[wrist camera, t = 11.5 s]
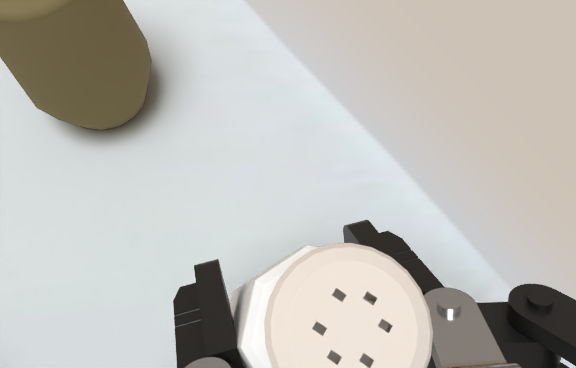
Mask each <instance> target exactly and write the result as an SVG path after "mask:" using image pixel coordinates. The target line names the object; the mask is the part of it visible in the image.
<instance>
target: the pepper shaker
mask: <svg viewBox="0 0 576 368" xmlns="http://www.w3.org/2000/svg"><path fill="white" fill-rule="evenodd" d="M230 308H231V312H232V316H233V322H234V329H235V337H236V345H237V350H238V353H239V356H240V359H241V362H242V365H243V368H427V366H428V363H429V360H430V357H431V350H432V339H433V330H432V324H431V317H430V311H429V308H428V306H427V303H426V301H425V298H424V296H423V294H422V291H421V289H420V287H419V286H418V285H417V283H416V282H415V281H414V279H413V278H412V276H411V275H410V274H409V272H408V271H407V270H406V269H405V268H403V267H402V266H401V265H400V264H399V263H398V262H396V261H395V260H394V259H393V258H392V257H390V256H388V255H386V254H384V253H382V252H380V251H378V250H376V249H374V248H372V247H368V246H363V245H359V244H354V243H340V244H329V245H326V246H323V247H315V246H309V245H308V246H303V247H302V248H300V249H298V250H297V251H295V252H293V253H292V254H290V255H289V256H287V257H285V258H284V259H282V260H281V261H279V262H277V263H276V264H274V265H273V266H271V267H270V268H268V269H267V270H265V271H264V272H262V273H261V274H259V275H258V276H256V277H255V278H253V279H252V280H250V281H249V282H247V283H246V284H244V285H243V286H241V287H240V288H238V289H237V290H235V291H234V292H233V295H232V300H231V304H230Z"/></svg>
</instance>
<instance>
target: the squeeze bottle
mask: <svg viewBox="0 0 576 368" xmlns="http://www.w3.org/2000/svg"><path fill="white" fill-rule="evenodd" d="M0 57H1V59H2V60H3V61H4V63H5V64H6V66H7V67H8V68H9V70H10V71H11V73H12V74H13V75H14V77H15V78H16V80H17V81H18V82H19V84H20V85H21V87H22V88H23V89H24V91H25V92H26V94H27V95H28V96H29V98H30V99H31V100H32V102H33V103H34V104H35V106H36V107H37V108H38V109H40V110H42V111H44V112H46V113H48V114H49V115H51V116H53V117H55V118H57V119H59V120H62V121H65V122H69V123H72V124H75V125H78V126H81V127H84V128H89V129H98V130H106V129H110V128H114V127H118V126H121V125H123V124H124V123H126V122H127V121H129V120H130V119H132V118H133V117H135V115H136V114H137V113H138V111H139V110H140V109H141V107H142V106H143V104H144V101H145V97H146V92H147V87H148V80H149V74H150V68H151V57H150V53H149V49H148V45H147V41H146V39H145V37H144V36H143V34H142V32H141V30H140V29H139V27H138V25H137V23H136V22H135V20H134V18H133V17H132V15H131V13H130V11H129V10H128V8H127V6H126V5H125V3H124V1H123V0H0Z"/></svg>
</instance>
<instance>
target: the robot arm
mask: <svg viewBox="0 0 576 368" xmlns="http://www.w3.org/2000/svg"><path fill="white" fill-rule="evenodd" d="M343 233H344V243H354V244H359V245H363V246H368V247H372V248H374V249H376V250H378V251H380V252H382V253H384V254H386V255H388V256H390V257H392V258H393V259H394V260H395V261H396V262H398V263H399V264H400V265H401V266H402V267H403V268H405V269H406V270H407V271H408V272H409V274H410V275H411V276H412V278H413V279H414V281H415V282H416V283H417V285H418V286H419V287H420V289H421V291H422V294H423V296H424V298H425V301H426V303H427V306H428V308H429V311H430V317H431V324H432V330H433V339H432V350H431V357H430V360H429V363H428V366H427V368H569V367H567V366H566V365H564V364H563V363H561V362H560V360H561V357H562V358H564V359H565V360H567V361H569V362H570V363H572V364H573V365H575V366H576V300H575V299H573V298H571V297H569V296H567V295H565V294H562V293H561V292H559V291H557V290H555V289H552V288H550V287H547V286H544V285H539V284H524V285H520V286H517V287H515V288H514V289H513V290H512V291H511V292H510V294H509V298H508V302H493V303H476V302H475V300H474V299H473V298H472V297H471V296H469V295H468V294H466V293H465V292H462V291H460V290H457V289H453V288H445V287H444V286H443V285H442V284H441V283H440V282H439V280H438V279H437V278H436V277H435V276H434V275H433V274H432V272H431V271H430V270H429V269H428V268H427V267H426V266H425V264H424V263H423V262H422V261H421V260H420V259H418V256H417V255H416V254H415V253H414V252H413V251H411V249H410V247H409V246H408V245H407V244H406V243H405V241H404V240H403V239H402V238H400V237H398V236H396V235H395V234H393V233H391V232H389V231H385V232H382V233H378V231H377V230H376V229H375V228H374V226H373V225H372V224H371V223H370V222H369V221H368V220H364V221H360V222H356V223H353V224H349V225H345V226H344V228H343ZM194 270H195V277H196V283H193V284H190V285H186V286H182V287H180V288H179V290H178V292H177V294H176V297H175V299H174V301H173V303H174V316H175V317H174V320H175V337H176V354H177V368H243V365H242V362H241V359H240V356H239V353H238V350H237V345H236V337H235V329H234V322H233V316H232V312H231V308H230V303H229V299H228V295H227V291H226V288H225V284H224V280H223V276H222V272H221V268H220V264H219V260H218V259H217V260H213V261H209V262H205V263H202V264H198V265H194Z"/></svg>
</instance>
